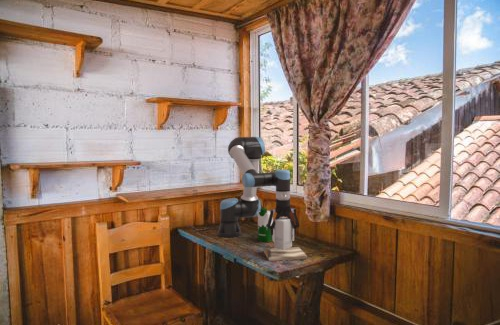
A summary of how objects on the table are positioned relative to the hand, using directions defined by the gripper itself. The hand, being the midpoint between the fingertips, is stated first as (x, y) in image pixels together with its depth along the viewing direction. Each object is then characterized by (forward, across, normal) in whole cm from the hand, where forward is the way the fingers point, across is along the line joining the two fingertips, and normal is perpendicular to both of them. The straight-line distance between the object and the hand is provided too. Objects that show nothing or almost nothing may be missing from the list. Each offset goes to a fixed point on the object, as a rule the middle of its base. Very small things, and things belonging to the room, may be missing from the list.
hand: (283, 240), depth 192 cm
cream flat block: (+8, +1, +1) cm, 8 cm away
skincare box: (+4, 0, 0) cm, 4 cm away
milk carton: (+8, -4, +31) cm, 32 cm away
